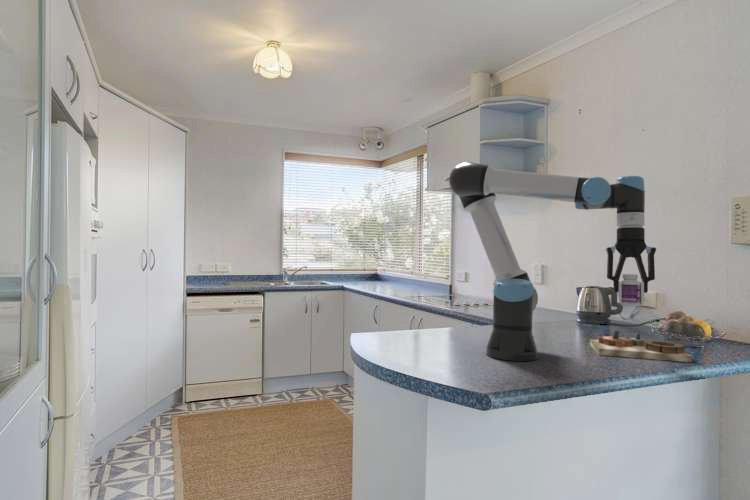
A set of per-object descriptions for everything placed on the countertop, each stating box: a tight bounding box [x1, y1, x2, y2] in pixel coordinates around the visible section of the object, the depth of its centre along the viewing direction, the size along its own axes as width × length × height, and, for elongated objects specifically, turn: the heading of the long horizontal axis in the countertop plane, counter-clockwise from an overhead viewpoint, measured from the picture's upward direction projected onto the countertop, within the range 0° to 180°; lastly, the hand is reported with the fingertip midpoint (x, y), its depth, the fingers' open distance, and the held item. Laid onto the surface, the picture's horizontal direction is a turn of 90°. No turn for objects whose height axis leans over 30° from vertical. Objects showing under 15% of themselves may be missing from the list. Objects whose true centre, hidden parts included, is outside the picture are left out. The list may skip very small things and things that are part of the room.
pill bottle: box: [620, 273, 641, 307], centre depth 144 cm, size 5×5×10 cm
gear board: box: [589, 329, 693, 363], centre depth 155 cm, size 26×17×6 cm, turn 74°
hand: (630, 302), depth 144 cm, fingers closed on pill bottle, 5 cm apart
